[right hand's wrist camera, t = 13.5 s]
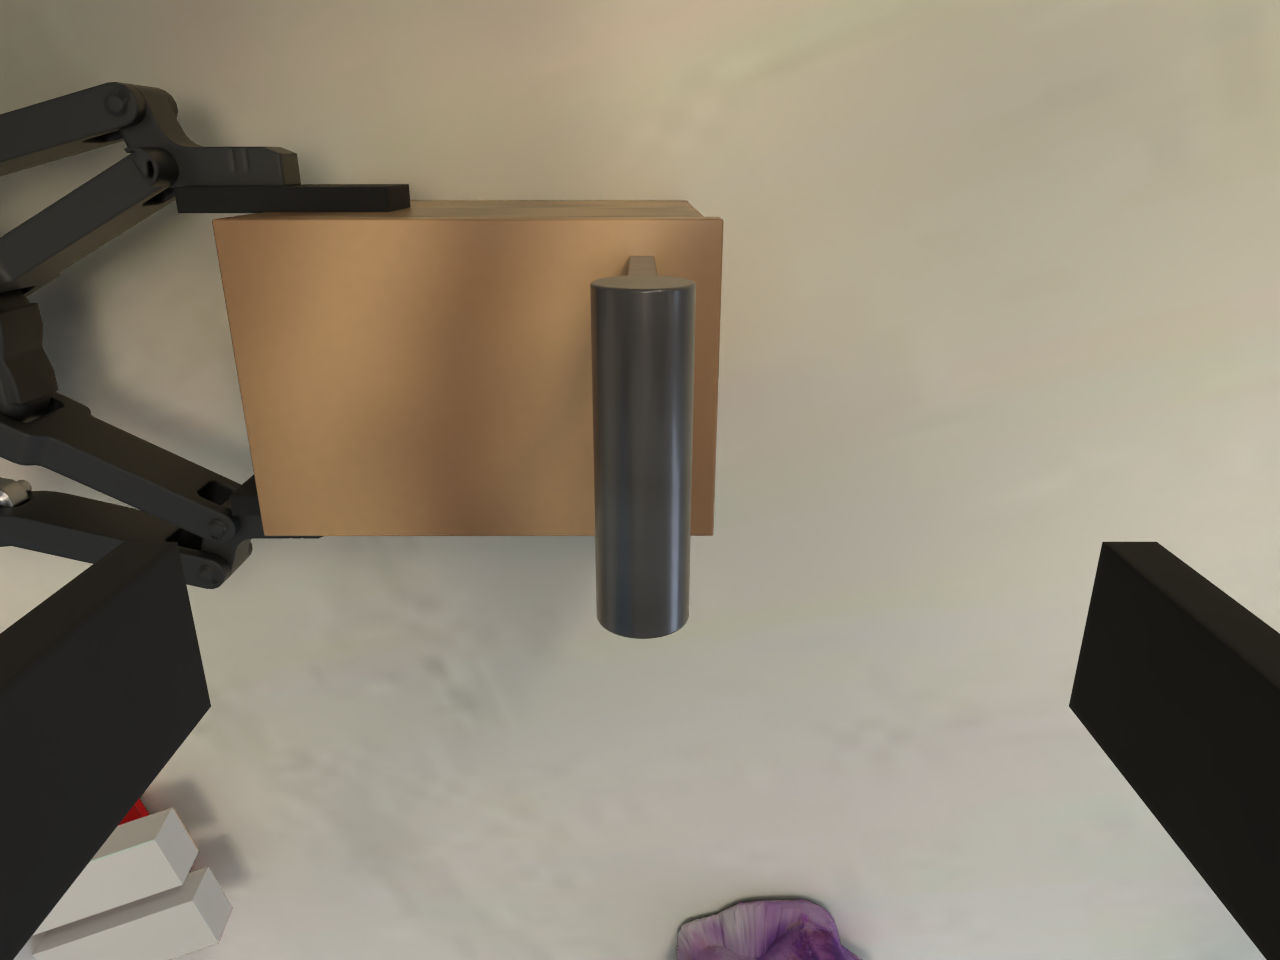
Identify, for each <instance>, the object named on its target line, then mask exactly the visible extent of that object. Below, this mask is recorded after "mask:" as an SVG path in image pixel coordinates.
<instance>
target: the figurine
mask: <svg viewBox="0 0 1280 960" xmlns="http://www.w3.org/2000/svg"><path fill="white" fill-rule="evenodd" d="M677 946H678V949H677V950H678V952H677V954H678V955H677V958H678V959H677V960H862V959H861V958H859V957H858V956H856V955H855V954H853V953H852V952H850V951H849V950H848V949H846V948H845V947H843V946H842V945H841V943H840V939H839V935H838V931H837V928H836V925H835V922H834V919H833V917H832V916H831V914H830V913H829V912H828V911H827V910H826V909H824V908H823V907H821V906H819V905H817V904H814V903H813V902H811V901H808V900H804V899H797V900H760V901H752V902H746V903H742V902H740V903H738V904H737V905H735V906H732V907H730V908H727V909H725V910H723V911H721V912H719V913H718V914H716V915H712V916H709V917H703V918H701V919H695V920H693V921H691V922H688V923H686V924H684V925H683V926H682V927H681V929H680V931H679V933H678V945H677Z"/></svg>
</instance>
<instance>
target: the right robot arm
mask: <svg viewBox="0 0 1280 960" xmlns="http://www.w3.org/2000/svg"><path fill="white" fill-rule="evenodd" d="M210 707H211V704H210V699H209V694H208V689H207V684H206V679H205V674H204V670H203V665H202V660H201V655H200V650H199V645H198V640H197V635H196V630H195V626H194V621H193V616H192V611H191V606H190V601H189V596H188V591H187V586H186V582H185V577H184V572H183V567H182V562H181V557H180V552H179V547H178V542H123V543H121V544H120V545H119V546H117V547H116V548H115V549H113V550H112V551H111V552H109V553H108V554H107V555H105V556H104V557H102V558H101V559H100V560H98V561H97V562H96V563H94V564H93V565H92V566H90V567H89V568H88V569H86V570H85V571H84V572H82V573H81V574H80V575H78V576H77V577H76V578H74V579H73V580H72V581H70V582H69V583H68V584H66V585H65V586H64V587H62V588H61V589H60V590H58V591H57V592H56V593H54V594H53V595H52V596H50V597H49V598H48V599H46V600H45V601H44V602H42V603H41V604H40V605H38V606H37V607H36V608H34V609H33V610H32V611H30V612H29V613H27V614H26V615H25V616H23V617H22V618H21V619H19V620H18V621H17V622H15V623H14V624H13V625H11V626H10V627H9V628H7V629H6V630H5V631H3V632H2V633H1V634H0V960H13V959H14V958H15V957H16V956H17V954H18V953H19V952H20V951H21V949H22V948H23V947H24V945H25V944H26V943H27V942H28V940H29V939H30V938H31V936H32V935H33V934H34V933H35V931H36V930H37V929H38V927H39V926H40V925H41V924H42V922H43V921H44V920H45V918H46V917H47V916H48V915H49V913H50V912H51V911H52V909H53V908H54V907H55V906H56V904H57V903H58V902H59V901H60V899H61V898H62V897H63V895H64V894H65V893H66V892H67V890H68V889H69V888H70V886H71V885H72V884H73V883H74V881H75V880H76V879H77V877H78V876H79V875H80V874H81V872H82V871H83V870H84V868H85V867H86V866H87V865H88V863H89V862H90V861H91V859H92V858H93V857H94V856H95V854H96V853H97V852H98V850H99V849H100V848H101V847H102V845H103V844H104V843H105V842H106V840H107V839H108V838H109V836H110V835H111V834H112V833H113V831H114V830H115V829H116V827H117V826H118V825H119V824H120V822H121V821H122V820H123V818H124V817H125V816H126V815H127V813H128V812H129V811H130V809H131V808H132V807H133V806H134V804H135V803H136V802H137V800H138V799H139V798H140V797H141V795H142V794H143V793H144V792H145V790H146V789H147V788H148V786H149V785H150V784H151V783H152V781H153V780H154V779H155V777H156V776H157V775H158V774H159V772H160V771H161V770H162V768H163V767H164V766H165V765H166V763H167V762H168V761H169V759H170V758H171V757H172V756H173V754H174V753H175V752H176V750H177V749H178V748H179V747H180V745H181V744H182V743H183V742H184V740H185V739H186V738H187V736H188V735H189V734H190V733H191V731H192V730H193V729H194V727H195V726H196V725H197V724H198V722H199V721H200V720H201V718H202V717H203V716H204V715H205V713H206V712H207V711H208V709H209V708H210ZM1069 707H1070V708H1071V709H1072V711H1073V712H1074V713H1075V715H1076V716H1077V717H1078V718H1079V720H1080V721H1081V722H1082V724H1083V725H1084V726H1085V727H1086V729H1087V730H1088V731H1089V733H1090V734H1091V735H1092V736H1093V738H1094V739H1095V740H1096V742H1097V743H1098V744H1099V745H1100V747H1101V748H1102V749H1103V750H1104V752H1105V753H1106V754H1107V756H1108V757H1109V758H1110V759H1111V761H1112V762H1113V763H1114V765H1115V766H1116V767H1117V768H1118V770H1119V771H1120V772H1121V774H1122V775H1123V776H1124V777H1125V779H1126V780H1127V781H1128V783H1129V784H1130V785H1131V786H1132V788H1133V789H1134V790H1135V792H1136V793H1137V794H1138V795H1139V797H1140V798H1141V799H1142V800H1143V802H1144V803H1145V804H1146V806H1147V807H1148V808H1149V809H1150V811H1151V812H1152V813H1153V815H1154V816H1155V817H1156V818H1157V820H1158V821H1159V822H1160V824H1161V825H1162V826H1163V827H1164V829H1165V830H1166V831H1167V833H1168V834H1169V835H1170V836H1171V838H1172V839H1173V840H1174V842H1175V843H1176V844H1177V845H1178V847H1179V848H1180V849H1181V850H1182V852H1183V853H1184V854H1185V856H1186V857H1187V858H1188V859H1189V861H1190V862H1191V863H1192V865H1193V866H1194V867H1195V868H1196V870H1197V871H1198V872H1199V874H1200V875H1201V876H1202V877H1203V879H1204V880H1205V881H1206V883H1207V884H1208V885H1209V886H1210V888H1211V889H1212V890H1213V892H1214V893H1215V894H1216V895H1217V897H1218V898H1219V899H1220V901H1221V902H1222V903H1223V904H1224V906H1225V907H1226V908H1227V909H1228V911H1229V912H1230V913H1231V915H1232V916H1233V917H1234V918H1235V920H1236V921H1237V922H1238V924H1239V925H1240V926H1241V927H1242V929H1243V930H1244V931H1245V933H1246V934H1247V935H1248V936H1249V938H1250V939H1251V940H1252V942H1253V943H1254V944H1255V945H1256V947H1257V948H1258V949H1259V951H1260V952H1261V953H1262V954H1263V956H1264V957H1265V958H1266V959H1267V960H1280V634H1279V633H1278V632H1277V631H1275V630H1274V629H1273V628H1271V627H1270V626H1269V625H1267V624H1266V623H1265V622H1263V621H1262V620H1261V619H1259V618H1258V617H1257V616H1255V615H1254V614H1253V613H1251V612H1250V611H1248V610H1247V609H1246V608H1244V607H1243V606H1242V605H1240V604H1239V603H1238V602H1236V601H1235V600H1234V599H1232V598H1231V597H1230V596H1228V595H1227V594H1226V593H1224V592H1223V591H1222V590H1220V589H1219V588H1218V587H1216V586H1215V585H1214V584H1212V583H1211V582H1210V581H1208V580H1207V579H1206V578H1204V577H1203V576H1202V575H1200V574H1199V573H1198V572H1196V571H1195V570H1194V569H1192V568H1191V567H1190V566H1188V565H1187V564H1186V563H1184V562H1183V561H1182V560H1180V559H1179V558H1178V557H1176V556H1175V555H1173V554H1172V553H1171V552H1169V551H1168V550H1167V549H1165V548H1164V547H1163V546H1161V545H1160V544H1159V543H1157V542H1102V547H1101V552H1100V557H1099V562H1098V567H1097V572H1096V577H1095V582H1094V586H1093V591H1092V596H1091V601H1090V606H1089V611H1088V616H1087V621H1086V626H1085V630H1084V635H1083V640H1082V645H1081V650H1080V655H1079V660H1078V665H1077V670H1076V674H1075V679H1074V684H1073V689H1072V694H1071V699H1070V704H1069Z"/></svg>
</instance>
